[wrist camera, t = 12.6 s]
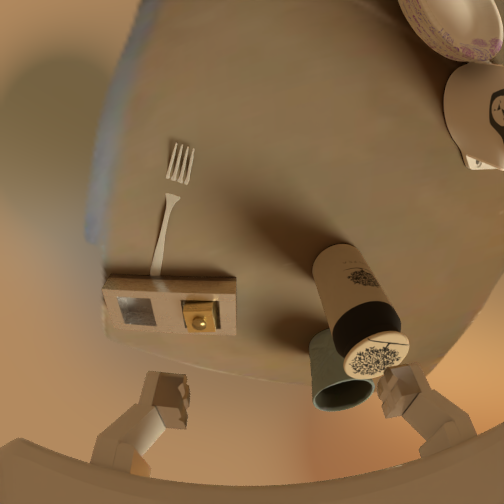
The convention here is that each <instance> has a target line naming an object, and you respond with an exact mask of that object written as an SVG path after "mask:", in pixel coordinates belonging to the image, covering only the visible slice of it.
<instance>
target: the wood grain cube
mask: <svg viewBox="0 0 504 504" xmlns="http://www.w3.org/2000/svg"><path fill="white" fill-rule="evenodd" d="M183 315H184V318H185V322H186V326H187V329H188V333H194V332H216V325H217V316H218V305H217V301H199V300H186V301H185V305H184V309H183Z"/></svg>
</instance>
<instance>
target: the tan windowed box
mask: <svg viewBox="0 0 504 504" xmlns="http://www.w3.org/2000/svg"><path fill="white" fill-rule="evenodd" d="M102 292H103V295H104V299H105V302H106V305H107V308H108V311H109V314H110V317H111V319H112V322H113V325H114V328H118V329H128V330H139V331H152V332H166V333H183V334H206V335H236V324H237V301H236V277H185V276H149V275H121V274H111V275H110V276H109V278H108V279H107V281H106V283H105V284H104V286H103V287H102ZM186 300H199V301H217V305H218V316H217V325H216V332H194V333H188V329H187V326H186V322H185V318H184V315H183V309H184V305H185V301H186Z"/></svg>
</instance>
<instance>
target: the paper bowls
mask: <svg viewBox="0 0 504 504" xmlns="http://www.w3.org/2000/svg"><path fill="white" fill-rule="evenodd" d="M398 2H399V5H400V7H401V10H402V12H403V14H404V16H405V18H406V19H407V21H408V22H409V24H410V25H411V27H412V29H413V30H414V31H415V33H416V34H417V35H418V36H419V37H420V38H421V39H422V40H423V41H424V42H425V43H426V44H427V45H428V46H429V47H430V48H432V49H433V50H434V51H436V52H437V53H439V54H440V55H442V56H444V57H446V58H449V59H451V60H455V61H463V62H466V61H467V62H472V61H475V62H479V61H487V60H490V59H492V58H494V57H495V56H496V55H497V54H498V52H499V51H500V49H501V46H502V43H503V25H502V21H501V17H500V14H499V11H498V9H497V6H496V4H495V2H494V0H398Z"/></svg>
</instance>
